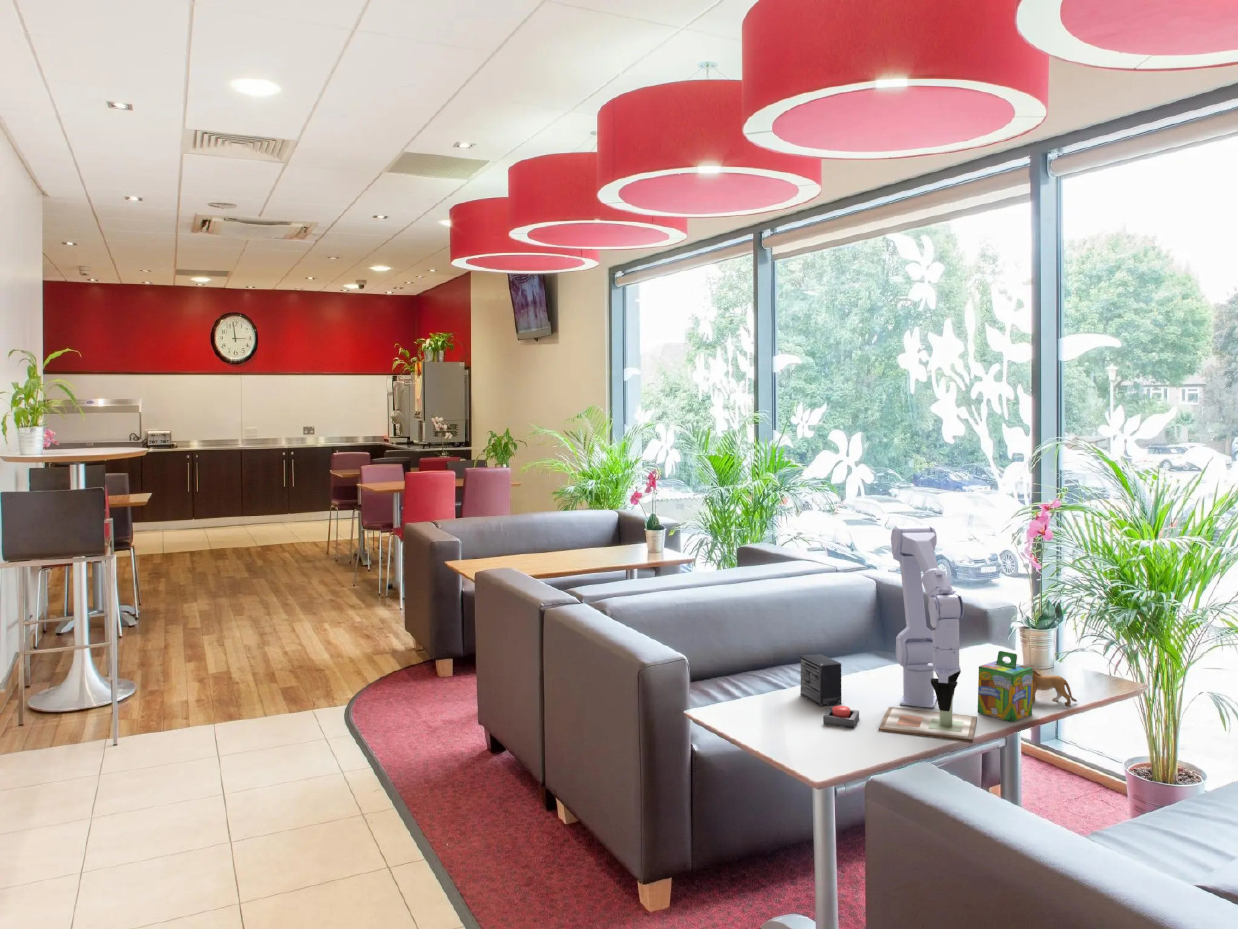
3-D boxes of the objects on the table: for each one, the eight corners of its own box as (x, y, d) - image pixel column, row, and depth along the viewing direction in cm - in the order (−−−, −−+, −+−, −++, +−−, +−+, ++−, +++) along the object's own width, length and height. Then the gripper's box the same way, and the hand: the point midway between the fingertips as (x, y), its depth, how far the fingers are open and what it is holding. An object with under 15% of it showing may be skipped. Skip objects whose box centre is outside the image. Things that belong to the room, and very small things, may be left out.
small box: (843, 704, 227) (843, 662, 226) (820, 707, 225) (820, 665, 224) (821, 692, 237) (821, 652, 236) (799, 695, 235) (798, 655, 234)
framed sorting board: (889, 709, 222) (888, 706, 222) (976, 719, 214) (976, 715, 214) (878, 730, 208) (878, 727, 208) (972, 742, 199) (972, 738, 199)
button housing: (829, 715, 219) (829, 707, 219) (859, 719, 216) (859, 710, 216) (823, 724, 212) (823, 716, 212) (853, 728, 209) (853, 720, 209)
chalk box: (976, 713, 218) (976, 652, 217) (997, 705, 223) (997, 646, 222) (1013, 723, 210) (1013, 660, 209) (1034, 715, 216) (1034, 653, 215)
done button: (834, 712, 217) (834, 705, 217) (851, 714, 215) (851, 706, 215) (831, 717, 213) (830, 710, 213) (848, 719, 211) (848, 712, 211)
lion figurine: (1014, 703, 224) (1014, 667, 224) (1010, 696, 230) (1010, 661, 229) (1079, 706, 221) (1079, 670, 220) (1074, 700, 226) (1074, 664, 225)
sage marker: (939, 721, 210) (939, 687, 210) (953, 723, 209) (953, 689, 208) (938, 726, 207) (938, 691, 207) (952, 727, 206) (952, 693, 206)
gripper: (930, 637, 215) (931, 694, 216) (923, 653, 202) (924, 713, 203) (962, 640, 212) (962, 697, 213) (957, 656, 199) (957, 717, 200)
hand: (946, 705), depth 208 cm, fingers open, 7 cm apart
